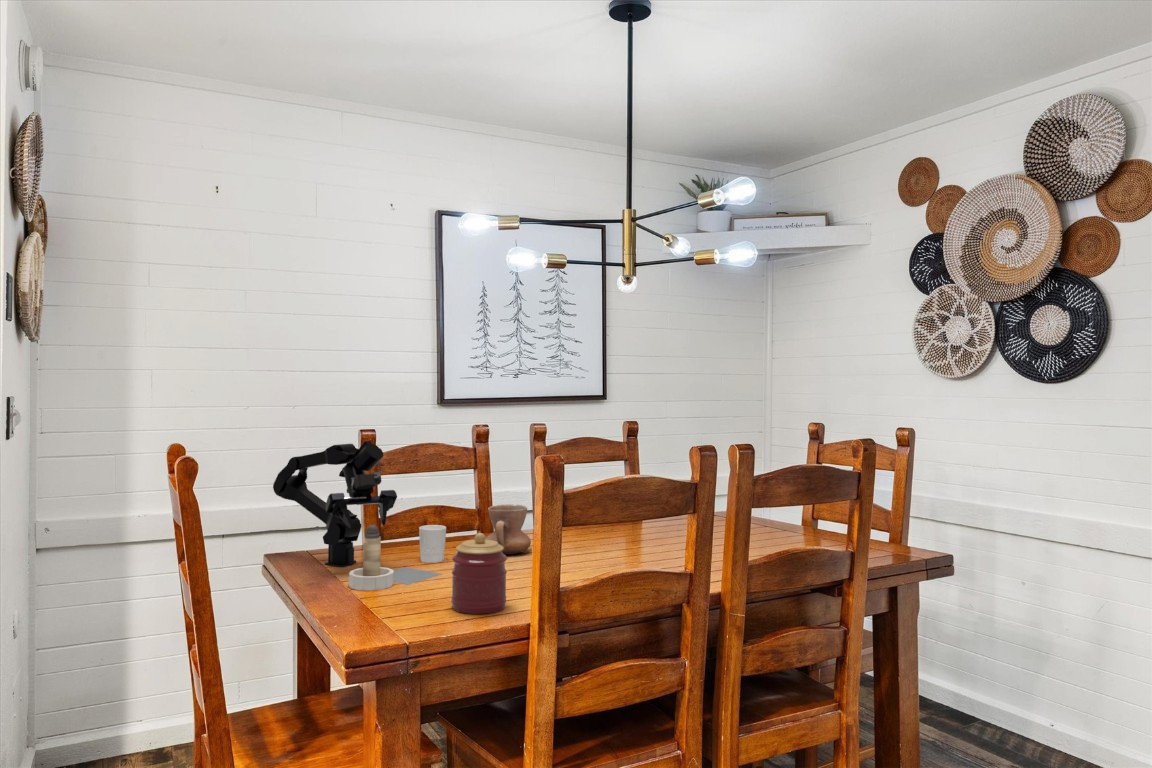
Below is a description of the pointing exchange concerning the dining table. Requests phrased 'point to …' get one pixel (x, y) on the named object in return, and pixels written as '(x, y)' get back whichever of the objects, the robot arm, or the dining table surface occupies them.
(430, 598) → the dining table surface
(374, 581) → the bowl
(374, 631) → the dining table surface
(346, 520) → the robot arm
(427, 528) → the white cup
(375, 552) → the pepper mill
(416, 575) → the felt mat
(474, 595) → the canister
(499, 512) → the ceramic jug
